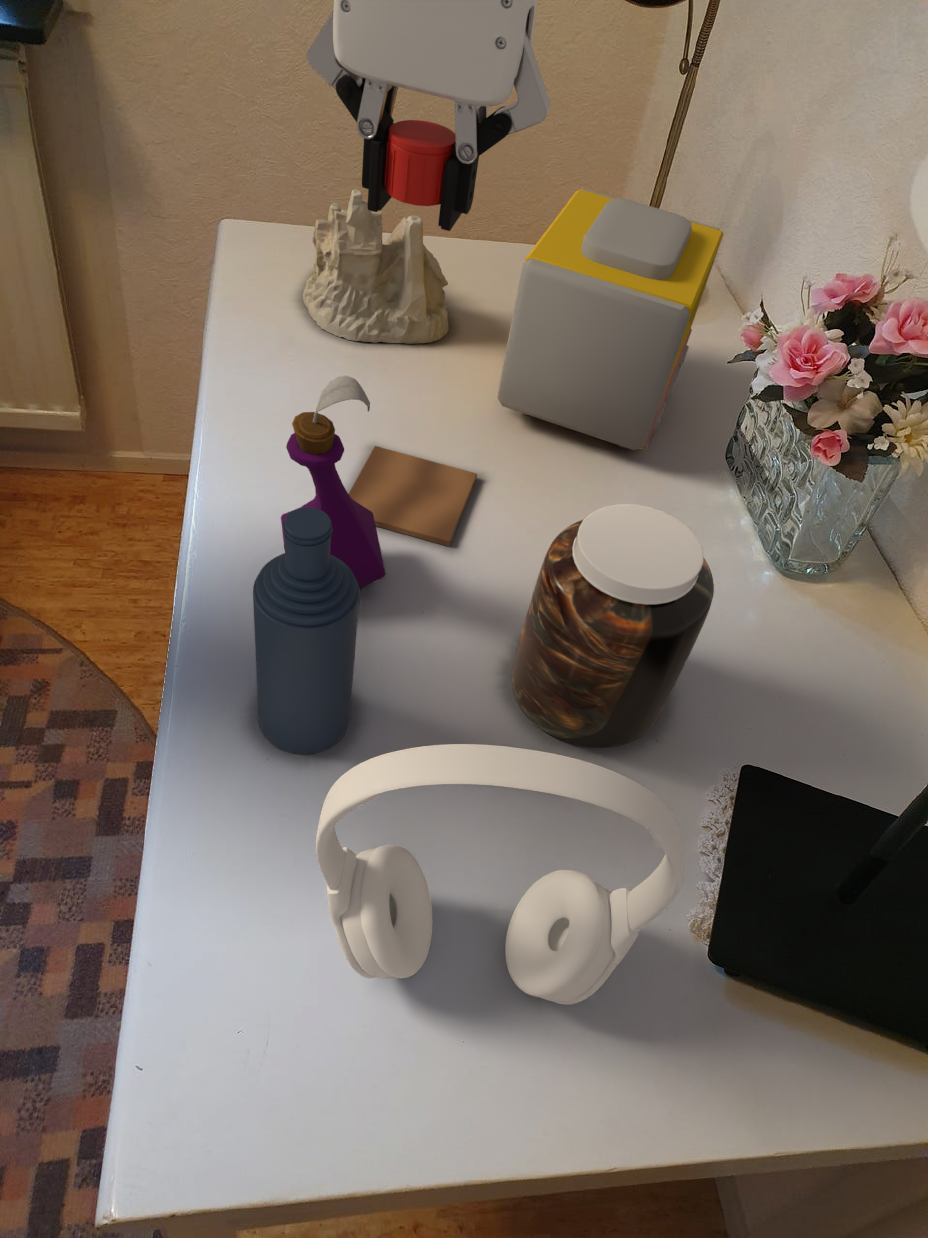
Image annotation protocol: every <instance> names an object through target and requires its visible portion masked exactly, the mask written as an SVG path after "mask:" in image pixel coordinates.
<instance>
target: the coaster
mask: <svg viewBox="0 0 928 1238" xmlns="http://www.w3.org/2000/svg"><path fill="white" fill-rule="evenodd" d="M477 478H478V473H476V472H473V471H469V470H465V469H462V468H459V467H454V466H451V465H447V464H444V463H439V462H436V461H432V460H429V459H425V458H422V457H418V456H414V455H410V454H408V453H407V454H406V453H404V452H399V451H396V450H392V449H388V448H386V447H382V446H377V445H374V447H373V449H372V451H371V452H370V454H369V456H368V457H367V459H366V461H365V463H364V464H363V466H362V468H361V470H360V472H359V474H358V475H357V478H356V479H355V481H354V483H353V484H352V487H351V488H350V490H349V492H348V494H349V495H350V497H351V498H352V499H353V500H354V501H356V502H357V503H359V504H360V505H362V506H363V507H365V508H367V509H368V510H370V511H371V512H372V513H373V516H374V521H375V525H376V527H378V528H382V529H385V530H389V531H393V532H397V533H399V534H402V535H407V536H411V537H415V538H418V539H421V540H425V541H428V542H432V543H435V544H439V545H442V546H446V547H450V545H451V543H452V540H453V537H454V535H455V534H456V530H457V527H458V525H459V523H460V520H461V518H462V515H463V513H464V511H465V508H466V505H467V504H468V500H469V498H470V496H471V493H472V491H473V488H474V486H475V483H476V481H477Z"/></svg>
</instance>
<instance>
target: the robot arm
mask: <svg viewBox="0 0 928 1238" xmlns="http://www.w3.org/2000/svg"><path fill="white" fill-rule="evenodd" d="M538 1H539V0H333V10H332V12H331V13H330V15H329V16H328V17H327V19H326V21H325V23H324V24H323V26H322V27H321V29H320V31H319V32H318V34H317V35H316V37H315V39H314V40H313V42H312V43H311V46H310V47H309V49H308V50H307V52H306V62H307V64H308V65H309V67H311V69H312V70H314V72H316V74H317V75H319V76H320V78H321V79H322V80H324V82H325V83H327V85H329V86H330V87H332V88H333V89H334V90H335V93H336V94H337V97H338V98H339V99H340V100H341V102H342V104H343V105H344V107H345V109H347V111H348V112H349V113H350V115H351V117H352V118H353V120H354V121H355V123H356V131H357V133H358V135H359V136H360V137H361V138H363V147H362V149H363V150H362V167H361V168H362V169H361V187H362V188H363V189H367V190H368V192H367V202H368V210H370V211H371V212H382V209H383V208H384V207H385V206H386V205H387V203H389V202H390V201H391V199H393V197H391V196H390V195H389V194H388V193H387V191H386V189H385V186H384V183H385V168H386V153H387V142H388V137H389V128H390V126H391V125H392V124H394V123H395V122H394V121H395V120H394V118H393V113H394V108H395V104H396V99H397V96H398V91H399V88H400V89H405V90H408V91H413V92H417V93H420V94H421V93H422V94H426V95H429V96H433V97H438V98H442V99H446V100H450V101H453V105H454V106H453V108H454V133H455V141H456V144H455V145H454V146H453V155H452V156H451V157H449V158H448V159H447V161H446V164H445V169H444V178H443V187H442V196H441V204H440V205H439V206H440V207H439V213H438V222H437V223H438V225H437V226H438V227H440V229H441V230H444V231H447V232H451V231H452V229H453V228H454V226H455V224H456V223H457V221H458V220H459V218H461V215H462V214H464V215H468V214H469V213H470V211H471V209H472V205H473V201H474V197H475V196H474V195H475V189H476V180H477V174H478V167H479V160H480V156H481V155H483V154H484V153H486V152H487V151H488V150H490V149H491V148H493V147H494V146H495V145H497V144H499V143H500V142H502V140H504V139H505V138H506V137H507V136H509V135H512V134H515V133H519V132H520V131H523V130H525V129H529V128H530V127H533V126H535V125H537V124H540V123H542V122H543V121H545V119H546V118H547V116H548V115H549V113H550V111H551V107H552V105H551V101H550V98H549V94H548V92H547V89H546V86H545V83H544V80H543V76H542V74H541V70H540V68H539V64H538V61H537V59H536V55H535V51H534V50H533V42H534V35H535V29H536V28H535V26H536V18H537V9H538ZM513 87H514V89H515V92H516V95H517V101H514V102H512V103H511V104H508V105H504V106H501V107H499V108H497V109H496V110H495V111H493V112H492V113H491V114H490V115H489V107H494V106H499V105H502V104H504V103H505V102H507V101H508V99H509V98H510V97H511V94H512V90H513Z"/></svg>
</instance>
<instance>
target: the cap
mask: <svg viewBox="0 0 928 1238" xmlns="http://www.w3.org/2000/svg"><path fill="white" fill-rule="evenodd" d="M455 144H456V141H455V131H453V130H452V129H450V128H449V127H446V126H444V125H442V124H439V123H436V122H432V121H429V120H428V121H427V120H419V119H404V120H400V121H399V120H398V121H396V122H394V123H393V124H392V125H391V126H390V128H389V137H388V142H387V153H386V168H385V183H384V186H385V189H386V191H387V193H388V194H389V195H390V196H391V197H392V199H394V200H396V201H398V202H400V203H403V204H408V205H412V206H417V207H433V206H440V205H441V196H442V187H443V178H444V169H445V164H446V161H447V159H448V158H449V157H451V156H452V155H453V146H454V145H455Z"/></svg>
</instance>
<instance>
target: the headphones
mask: <svg viewBox="0 0 928 1238" xmlns="http://www.w3.org/2000/svg"><path fill="white" fill-rule="evenodd" d="M434 785H436V786H437V785H477V786H478V785H479V786H480V785H481V786H495V787H503V788H505V787H506V788H513V789H520V790H526V791H535V792H540V793H545V794H551V795H556V796H560V797H561V796H562V797H565V798H569V799H575V800H578V801H582V802H586V803H589V804H592V805H596V806H598V807H602V808H605V809H607V810H610V811H612V812H615V813H618V814H619V815H622V816H625V817H627V818H629V819H631V820H632V821H634V822H637V823H639V824H640V825H642V826H644V827H645V828H647V830H648V832H649V834H650V836H651V837H652V839H653V840H654V841H655V843H656V844H657V845H658V846H659V847H660V848H661V850H662V852H664V856H663V858H662V860H661V862H660V863H659V865H658V866H657V867H656V869H655V870H653V871H652V873H651V874H649V876H648V877H647V878H645V879H644V880H643V881H642V882H641V883H640V882H639V884H638V885H636V886H635V887H634V888H630V887H628V886H627V887H619V888H616V889H614V890H612V891H611V890H609V889H608V888H606V887H604V886H603V885H602V884H600V883H599V882H597V881H595V880H594V879H593V878H592V877H590V876H589V875H587V874H585V873H583V872H580V871H577V870H574V869H558V870H554V871H552V872H549V873H547V874H545V875H543V876H542V877H540V878H539V879H537V880H536V881H535V882H534V883H533V884H532V885H531V886H530V887H529V888H528V890H527V891H526V892H525V893H524V894H523V896H522V897H521V898H520V900H519V902H518V903H517V906H516V907H515V909H514V910H513V911H514V912H513V913H512V916H511V919H510V921H509V924H508V928H507V933H506V939H505V949H504V950H505V961H506V962H505V963H506V967H507V970H508V973H509V976H510V978H511V980H512V981H513V982H514V984H515V986H516V987H517V988H518V989H519V990H521V991H522V992H523V993H525V994H527V995H529V996H532V997H536V998H541V999H543V1000H545V1001H549V1002H554V1003H556V1004H560V1005H574V1004H578V1003H580V1002H583V1001H584V1000H586V999H588V998H590V997H591V996H592V995H593V994H594V993H596V992H597V991H598V990H599V989H600V988H601V987H602V986H603V985H604V983H605V982H606V981H607V980H608V978H609V977H610V976H611V974H612V973H613V971H614V970H615V969H616V967H617V966H618V965H619V964H620V963H621V961H622V960H623V959H624V958H625V957H626V955H627V954H628V952H629V951H630V949H631V948H632V947H633V944H634V943H635V941H636V940H637V938H638V937H639V932H640V930H642V929H643V928H644V927H646V926H647V925H648V924H650V923H651V922H652V921H654V920H655V919H656V918H658V917H659V916H660V915H662V913H663V912H665V911H666V910H667V909H668V908H669V906H670V905H671V904H673V902H674V901H675V899H676V897H677V896H678V894H679V892H680V890H681V888H682V884H683V881H684V875H685V874H684V873H685V860H684V859H685V857H684V847H683V840H682V833H681V829H680V826H679V824H678V821H677V819H676V817H675V815H674V813H673V812H672V811H671V809H670V808H669V806H668V805H666V803H665V802H664V801H663V800H662V799H661V798H660V797H658V796H657V795H656V794H655V793H654V792H652V791H651V790H649V789H648V788H646V787H645V786H644V785H642V784H640V783H639V782H636V781H635V780H634V779H631V778H629V777H627V776H625V775H623V774H621V773H618V772H616V771H614V770H612V769H608V768H606V767H603V766H600V765H598V764H595V763H592V762H588V761H586V760H583V759H579V758H576V757H575V758H574V757H571V756H566V755H561V754H558V753H552V752H547V751H541V750H536V749H527V748H521V747H513V746H507V745H506V746H504V745H494V744H480V743H479V744H477V743H454V744H453V743H449V744H446V743H445V744H433V745H423V746H417V747H410V748H404V749H399V750H393V751H390V752H387V753H383V754H380V755H376V756H374V757H371V758H369V759H366V760H363V761H362V762H360V763H358V764H356V765H355V766H353V767H351V768H350V769H348V770H347V771H346V772H345V773H344V774H342V775H341V776H340V777H339V778H338V779H336V781H335V782H334V783H333V785H332V786H331V787H330V789H329V790H328V792H327V794H326V797H325V799H324V801H323V804H322V808H321V812H320V815H319V819H318V826H317V830H316V837H315V853H316V854H315V855H316V860H317V864H318V867H319V869H320V872H321V875H322V876H323V878H324V881H325V883H326V895H327V904H328V910H329V915H330V919H331V922H332V925H333V929H334V931H335V935H336V938H337V941H338V944H339V946H340V949H341V951H342V953H343V956H344V958H345V960H346V961H347V963H348V964H349V966H350V968H352V969H353V970H354V971H355V972H356V973H357V974H358V975H360V976H361V977H364V978H366V979H375V978H377V979H389V978H396V979H406V978H410V977H412V976H413V975H415V974H416V973H417V972H419V970H420V969H421V968H422V966H423V965H424V963H425V961H426V959H427V957H428V954H429V951H430V946H431V942H432V937H433V907H432V900H431V895H430V894H431V893H430V890H429V886H428V882H427V880H426V877H425V873H424V872H423V870H422V867H421V865H420V864H419V862H418V860H417V859H416V858H415V856H414V855H413V854H412V853H411V852H410V851H409V850H408V849H406V847H405V848H404V847H403V846H401V845H397V844H385V845H381V846H377V847H376V848H369V849H365V850H363V851H357V852H354V851H353V850H352V849H350V848H348V847H342V845H341V842H340V840H339V838H338V835H337V832H336V826H337V825H338V823H339V822H340V821H341V820H342V819H343V818H345V817H346V816H347V815H348V814H350V813H351V812H353V811H354V810H356V809H358V808H360V807H362V806H364V805H366V804H369V803H372V802H373V801H375V800H377V799H378V798H379V797H380V796H381V795H383V793H385V792H390V791H393V790H394V791H395V790H398V789H407V788H412V787H421V786H434Z"/></svg>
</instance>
